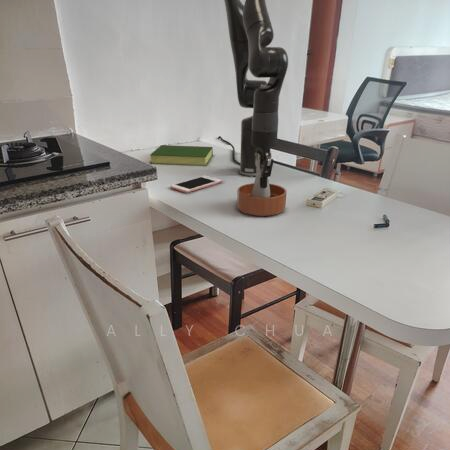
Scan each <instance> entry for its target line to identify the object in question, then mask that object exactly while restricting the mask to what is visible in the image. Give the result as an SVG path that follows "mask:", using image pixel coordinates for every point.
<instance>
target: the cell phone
mask: <svg viewBox="0 0 450 450" xmlns="http://www.w3.org/2000/svg"><path fill="white" fill-rule="evenodd" d="M220 183H222V179H219V178H217V177H213V176H208V175H202V176H198V177H195V178H191V179H188V180H185V181H181V182H177V183H174V184H171V185H170V189H173V190H176V191H179V192H181V193H184V194H188V193H191V192H195V191H198V190H201V189H203V188H207V187H210V186H214V185H216V184H220Z"/></svg>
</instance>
